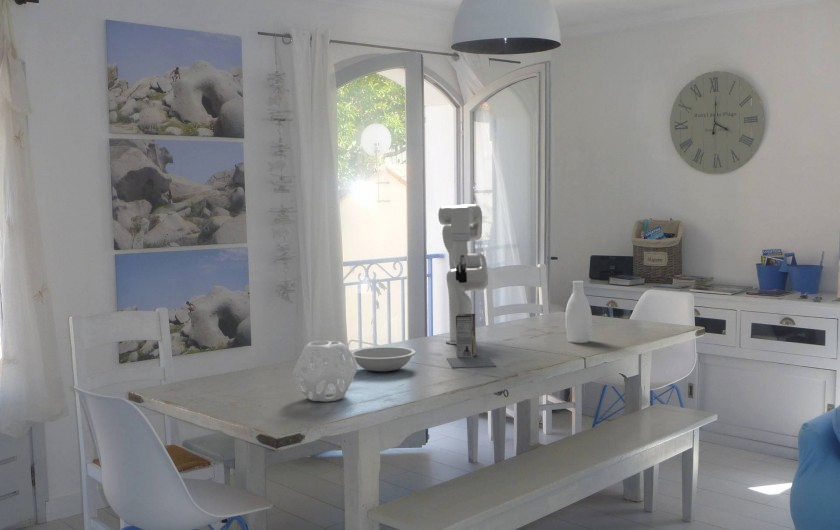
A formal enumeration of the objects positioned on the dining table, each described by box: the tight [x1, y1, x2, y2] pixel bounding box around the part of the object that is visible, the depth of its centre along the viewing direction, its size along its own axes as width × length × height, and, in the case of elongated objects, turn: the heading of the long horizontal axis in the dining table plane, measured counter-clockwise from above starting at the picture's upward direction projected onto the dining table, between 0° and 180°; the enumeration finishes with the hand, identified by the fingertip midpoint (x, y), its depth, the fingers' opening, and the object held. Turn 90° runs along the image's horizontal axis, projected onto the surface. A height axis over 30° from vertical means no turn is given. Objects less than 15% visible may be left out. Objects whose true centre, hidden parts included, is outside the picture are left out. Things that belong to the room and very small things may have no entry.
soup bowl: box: [351, 346, 417, 372], centre depth 307 cm, size 24×24×7 cm
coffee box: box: [455, 313, 477, 358], centre depth 330 cm, size 9×6×16 cm
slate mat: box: [446, 356, 497, 369], centre depth 318 cm, size 18×16×1 cm
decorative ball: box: [292, 340, 358, 403], centre depth 264 cm, size 20×20×17 cm
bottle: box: [564, 280, 593, 344], centre depth 359 cm, size 11×11×25 cm
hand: (461, 281), depth 341 cm, fingers open, 8 cm apart
